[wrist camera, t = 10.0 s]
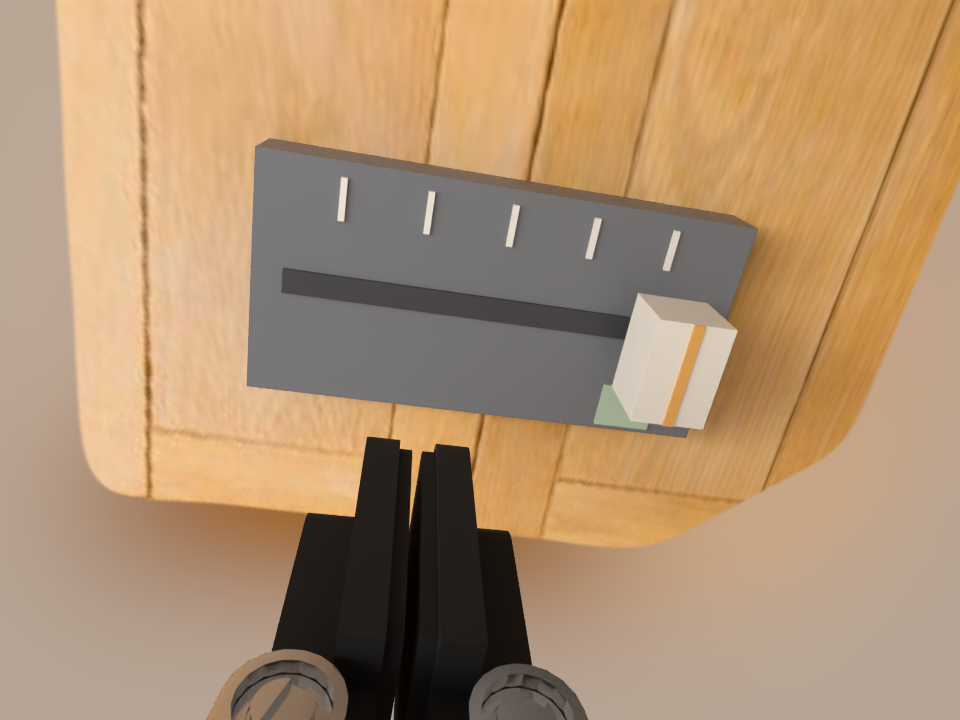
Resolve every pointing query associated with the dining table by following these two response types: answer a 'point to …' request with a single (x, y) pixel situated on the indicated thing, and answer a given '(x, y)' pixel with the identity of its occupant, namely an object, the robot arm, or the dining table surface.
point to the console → (464, 284)
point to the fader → (672, 361)
